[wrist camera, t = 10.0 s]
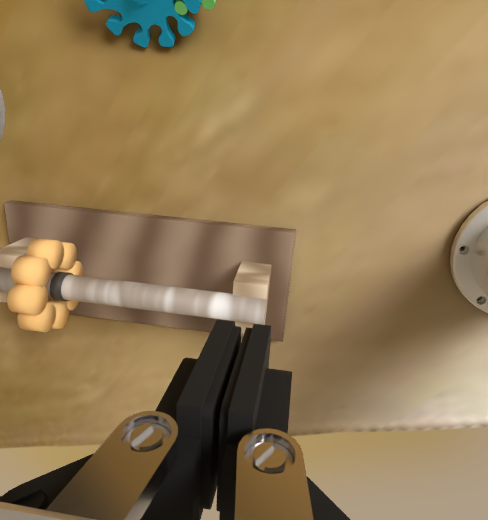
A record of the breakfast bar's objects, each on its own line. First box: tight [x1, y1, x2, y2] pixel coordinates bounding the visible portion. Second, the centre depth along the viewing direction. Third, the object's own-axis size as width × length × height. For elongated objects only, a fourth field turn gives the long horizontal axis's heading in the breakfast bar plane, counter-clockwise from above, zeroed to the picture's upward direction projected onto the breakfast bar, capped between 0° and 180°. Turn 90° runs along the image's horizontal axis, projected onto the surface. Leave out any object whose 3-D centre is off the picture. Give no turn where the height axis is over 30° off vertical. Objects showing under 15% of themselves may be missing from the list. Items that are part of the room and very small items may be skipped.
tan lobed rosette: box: [7, 238, 83, 332], centre depth 37 cm, size 2×9×9 cm, turn 176°
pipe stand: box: [0, 201, 296, 342], centre depth 39 cm, size 30×12×8 cm, turn 86°
